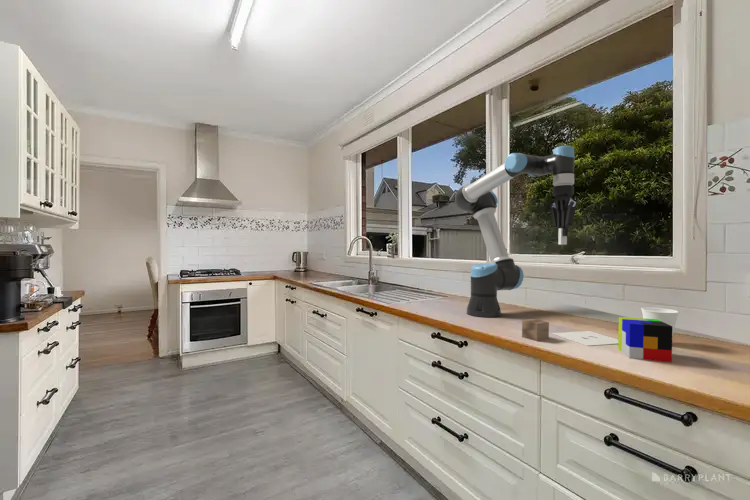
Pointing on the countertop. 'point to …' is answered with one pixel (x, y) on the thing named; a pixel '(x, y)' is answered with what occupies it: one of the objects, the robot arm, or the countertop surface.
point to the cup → (661, 315)
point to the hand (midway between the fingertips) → (562, 244)
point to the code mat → (588, 338)
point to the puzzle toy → (645, 339)
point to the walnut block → (535, 329)
